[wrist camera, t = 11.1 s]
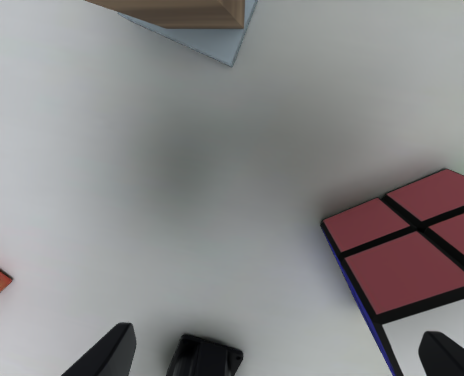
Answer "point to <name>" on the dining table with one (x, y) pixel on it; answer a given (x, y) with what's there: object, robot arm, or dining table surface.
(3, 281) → the cracker box
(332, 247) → the puzzle cube
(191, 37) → the slab
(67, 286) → the dining table surface
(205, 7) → the pillar
